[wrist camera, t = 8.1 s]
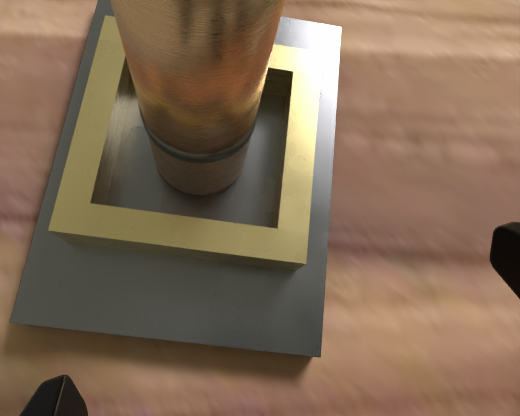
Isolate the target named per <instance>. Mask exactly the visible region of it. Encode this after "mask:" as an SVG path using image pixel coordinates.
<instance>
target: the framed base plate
mask: <svg viewBox="0 0 520 416" xmlns="http://www.w3.org/2000/svg"><path fill="white" fill-rule="evenodd" d="M340 42H341V27H338V26H332V25H327V24H321V23H315V22H310V21H304V20H298V19H293V18H287V17H282V16H281V18H280V22H279V26H278V30H277V34H276V38H275V42H274V46H273V50H272V54H271V58H270V62H269V67H268V71H267V75H266V79H265V83H264V87H263V91H262V95H261V99H260V103H259V113H258V117H257V121H256V125H255V128H254V131H253V133H252V136H251V140H250V144H249V148H248V152H247V156H246V160H245V164H244V167H243V169H242V172H241V173H240V175H239V177H238V178H237V179H236V180H235V181H234V182H233V183H232V184H231V185H230V186H228V187H227V188H226V189H224V190H222V191H220V192H217V193H214V194H209V195H193V194H188V193H184V192H182V191H180V190H178V189H176V188H174V187H173V186H171V185H170V184H169V183H168V182H167V181H166V180H165V179H164V178H163V177H162V175H161V174H160V172H159V170H158V168H157V166H156V163H155V159H154V156H153V152H152V149H151V145H150V141H149V138H148V134H147V132H146V130H145V128H144V125H143V122H142V118H141V115H140V111H139V104H138V98H137V95H136V91H135V88H134V84H133V80H132V77H131V73H130V70H129V66H128V62H127V59H126V55H125V52H124V48H123V44H122V41H121V37H120V34H119V30H118V26H117V23H116V19H115V16H114V12H113V8H112V5H111V1H110V0H98V2H97V6H96V9H95V13H94V17H93V20H92V24H91V28H90V31H89V35H88V38H87V42H86V46H85V49H84V53H83V57H82V60H81V64H80V68H79V71H78V75H77V79H76V82H75V86H74V89H73V93H72V97H71V100H70V104H69V108H68V111H67V115H66V119H65V122H64V126H63V130H62V133H61V137H60V140H59V144H58V148H57V151H56V155H55V159H54V162H53V166H52V170H51V173H50V177H49V180H48V184H47V188H46V191H45V195H44V199H43V202H42V206H41V210H40V213H39V217H38V221H37V224H36V228H35V231H34V235H33V239H32V242H31V246H30V250H29V253H28V257H27V261H26V264H25V268H24V272H23V275H22V279H21V282H20V286H19V290H18V293H17V297H16V301H15V304H14V308H13V312H12V315H11V319H10V323H16V324H25V325H34V326H43V327H52V328H61V329H70V330H79V331H88V332H97V333H106V334H115V335H124V336H133V337H142V338H151V339H160V340H169V341H178V342H186V343H195V344H204V345H213V346H222V347H231V348H240V349H249V350H258V351H267V352H276V353H285V354H294V355H303V356H312V357H321V343H322V328H323V312H324V296H325V280H326V264H327V248H328V232H329V216H330V201H331V185H332V169H333V153H334V137H335V121H336V105H337V89H338V73H339V58H340Z"/></svg>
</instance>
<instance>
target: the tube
mask: <svg viewBox="0 0 520 416" xmlns="http://www.w3.org/2000/svg"><path fill="white" fill-rule="evenodd" d="M110 1H111V5H112V8H113V12H114V16H115V19H116V23H117V26H118V30H119V34H120V37H121V41H122V44H123V48H124V52H125V55H126V59H127V62H128V66H129V70H130V73H131V77H132V80H133V84H134V88H135V91H136V95H137V98H138V104H139V111H140V115H141V118H142V122H143V125H144V128H145V130H146V132H147V134H148V138H149V141H150V145H151V149H152V152H153V156H154V159H155V163H156V166H157V168H158V170H159V172H160V174H161V175H162V177H163V178H164V179H165V180H166V181H167V182H168V183H169V184H170V185H171V186H173V187H174V188H176V189H178V190H180V191H182V192H184V193H188V194H193V195H209V194H214V193H217V192H220V191H222V190H224V189H226V188H227V187H228V186H230V185H231V184H232V183H233V182H234V181H235V180H236V179H237V178H238V177H239V175H240V173H241V172H242V169H243V167H244V164H245V160H246V156H247V152H248V148H249V144H250V140H251V136H252V133H253V131H254V128H255V125H256V121H257V117H258V113H259V103H260V99H261V95H262V91H263V87H264V83H265V79H266V75H267V71H268V67H269V62H270V58H271V54H272V50H273V46H274V42H275V38H276V34H277V30H278V26H279V22H280V18H281V14H282V10H283V6H284V2H285V0H110Z"/></svg>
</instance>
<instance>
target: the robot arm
mask: <svg viewBox="0 0 520 416" xmlns="http://www.w3.org/2000/svg"><path fill="white" fill-rule="evenodd" d="M490 262H491V264H492V266H493V268H494V269H495V270H496V272H497V273H498V274H499V275H500V276H501V277H502V279H503V280H504V281H505V282H506V283H507V285H508V286H509V287H510V288H511V289H512V290H513V292H514V293H515V294H516V295H517V296H518V298H519V299H520V223H519V222H510V223H507V224H504V225H501V226H498V227H497V228H495V230H494V232H493V237H492V244H491V251H490ZM19 416H88V411H87V407H86V404H85V402H84V400H83V398H82V396H81V395H80V393H79V391H78V390H77V388H76V386H75V385H74V383H73V381H72V380H71V378H70V377H69V376H68V375H61V376H58V377H55V378H52V379H49V380H47V381H45V382H43V383H42V384H41V385H40V386H39V387H38V389H37V390H36V392H35V393H34V395H33V396H32V398H31V399H30V401H29V402H28V404H27V405H26V406H25V408H24V409H23V411H22V412H21V414H20V415H19Z"/></svg>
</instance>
